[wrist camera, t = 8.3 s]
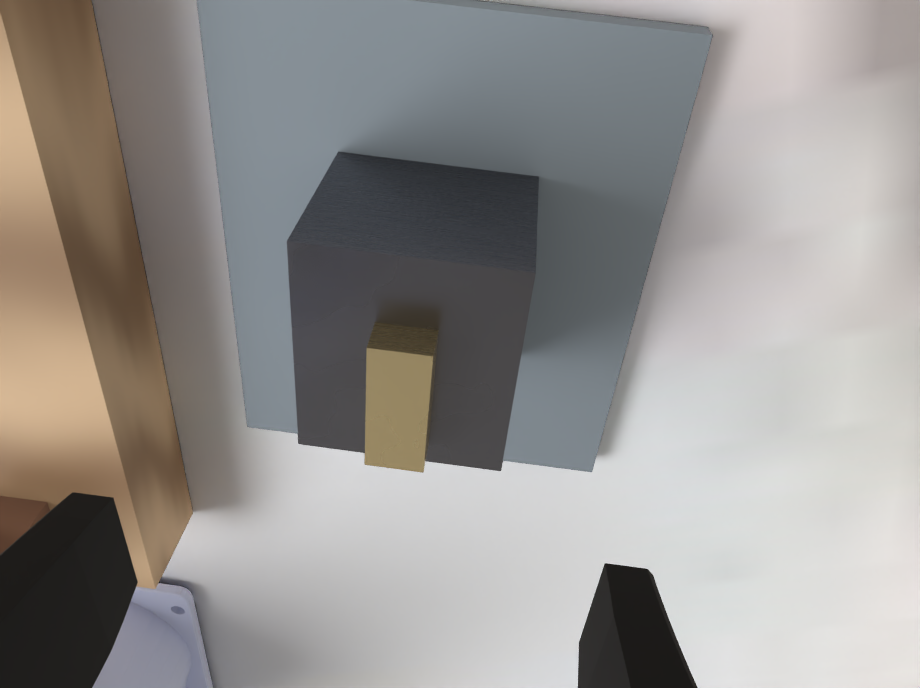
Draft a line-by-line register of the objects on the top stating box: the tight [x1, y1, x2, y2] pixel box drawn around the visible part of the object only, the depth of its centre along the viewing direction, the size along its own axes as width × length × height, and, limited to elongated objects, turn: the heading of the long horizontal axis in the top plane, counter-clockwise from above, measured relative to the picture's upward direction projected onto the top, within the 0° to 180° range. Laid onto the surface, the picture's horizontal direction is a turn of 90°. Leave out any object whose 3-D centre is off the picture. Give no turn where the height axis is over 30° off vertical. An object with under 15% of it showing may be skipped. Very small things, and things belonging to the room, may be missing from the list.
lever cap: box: [287, 152, 539, 472], centre depth 16 cm, size 5×4×5 cm
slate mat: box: [197, 0, 713, 472], centre depth 18 cm, size 12×10×1 cm
